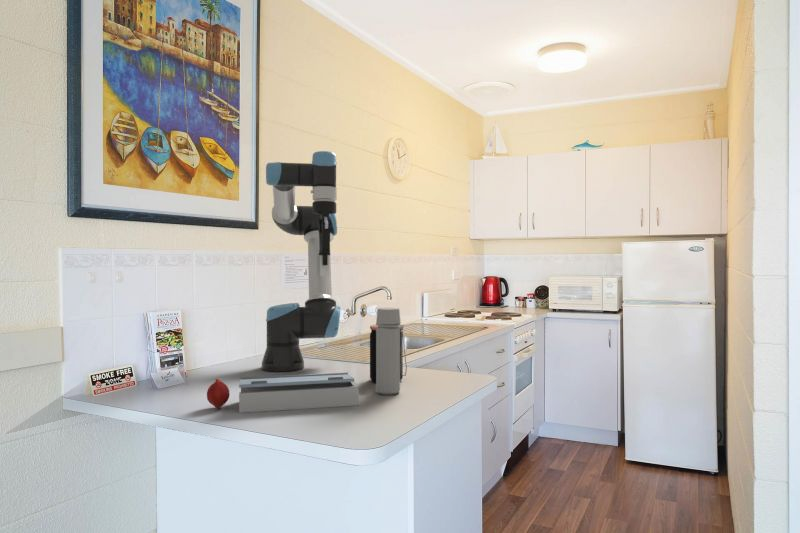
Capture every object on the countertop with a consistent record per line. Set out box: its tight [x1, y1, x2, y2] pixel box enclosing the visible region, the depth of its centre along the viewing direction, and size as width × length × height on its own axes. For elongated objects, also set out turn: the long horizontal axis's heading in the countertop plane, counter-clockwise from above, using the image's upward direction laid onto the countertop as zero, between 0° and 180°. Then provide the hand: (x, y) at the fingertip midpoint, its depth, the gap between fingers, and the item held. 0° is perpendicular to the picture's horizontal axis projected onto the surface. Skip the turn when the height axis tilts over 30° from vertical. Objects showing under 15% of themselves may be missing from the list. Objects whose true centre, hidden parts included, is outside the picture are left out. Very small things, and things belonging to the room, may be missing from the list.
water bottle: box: [375, 307, 408, 396], centre depth 165 cm, size 9×8×25 cm
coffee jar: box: [369, 324, 404, 384], centre depth 181 cm, size 11×11×18 cm
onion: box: [206, 378, 230, 409], centre depth 148 cm, size 6×6×8 cm
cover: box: [238, 372, 355, 389], centre depth 153 cm, size 1×30×13 cm
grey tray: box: [238, 380, 360, 414], centre depth 153 cm, size 12×31×5 cm, turn 104°
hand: (324, 275), depth 176 cm, fingers closed
